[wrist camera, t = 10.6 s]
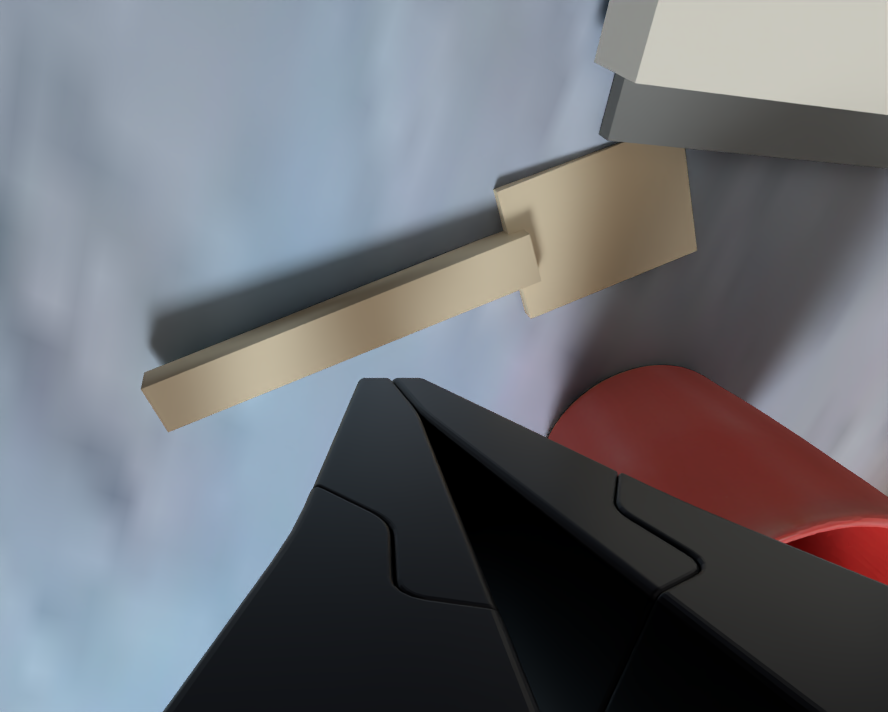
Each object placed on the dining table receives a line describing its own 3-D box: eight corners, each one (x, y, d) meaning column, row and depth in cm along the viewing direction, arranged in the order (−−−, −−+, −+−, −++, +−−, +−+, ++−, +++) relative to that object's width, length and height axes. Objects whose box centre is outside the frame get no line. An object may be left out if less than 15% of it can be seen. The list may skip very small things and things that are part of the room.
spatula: (191, 448, 23) (190, 467, 22) (119, 333, 20) (115, 348, 20) (688, 245, 24) (705, 255, 23) (672, 117, 22) (690, 122, 21)
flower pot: (444, 497, 28) (528, 742, 20) (636, 275, 24) (831, 467, 16) (623, 566, 33) (746, 783, 25) (802, 392, 29) (1010, 580, 22)
